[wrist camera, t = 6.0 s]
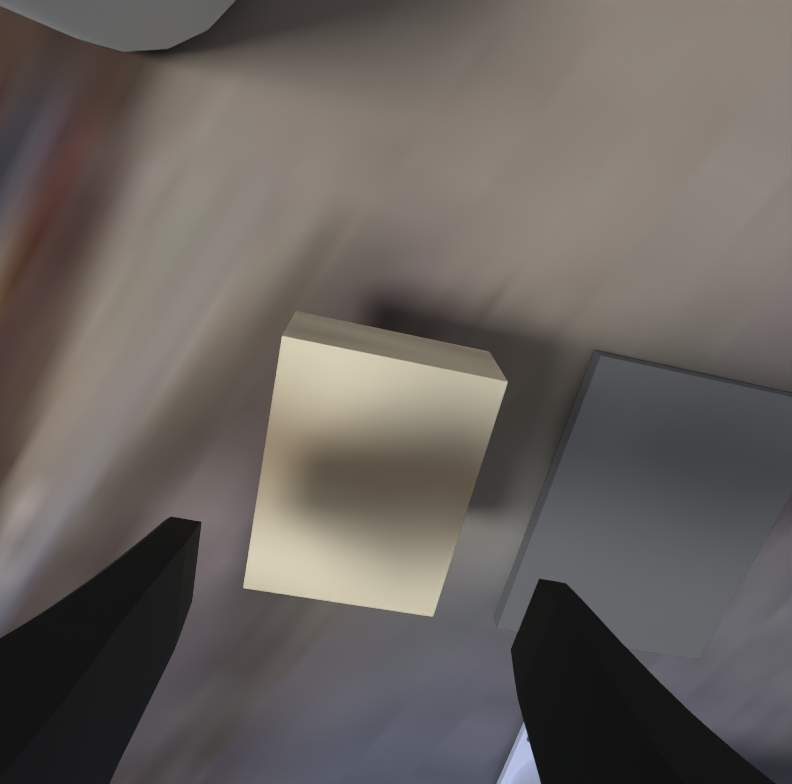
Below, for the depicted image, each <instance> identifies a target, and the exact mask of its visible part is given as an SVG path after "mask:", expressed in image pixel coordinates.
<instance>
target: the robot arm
mask: <svg viewBox="0 0 792 784" xmlns="http://www.w3.org/2000/svg"><path fill="white" fill-rule="evenodd" d="M200 530H201V522H199V521H193V520H187V519H181V518H176V517H170V518H168V519H166V520H165V521H163V522H162V523H161V524H160V525H159V526H158V527H156V528H155V529H154V530H153V531H152V532H150V533H149V534H148V535H147V536H146V537H144V538H143V539H142V540H141V541H139V542H138V543H137V544H136V545H135V546H133V547H132V548H131V549H130V550H128V551H127V552H126V553H125V554H123V555H122V556H121V557H119V558H118V559H117V560H115V561H114V562H113V563H112V564H110V565H109V566H108V567H106V568H105V569H104V570H102V571H101V572H100V573H98V574H97V575H96V576H94V577H93V578H92V579H90V580H89V581H88V582H86V583H85V584H83V585H82V586H81V587H79V588H78V589H76V590H75V591H73V592H72V593H70V594H69V595H67V596H66V597H64V598H63V599H62V600H60V601H59V602H57V603H56V604H54V605H53V606H51V607H50V608H48V609H47V610H45V611H44V612H42V613H41V614H39V615H38V616H36V617H34V618H33V619H31V620H30V621H28V622H27V623H25V624H23V625H22V626H20V627H18V628H17V629H15V630H13V631H12V632H10V633H8V634H7V635H5V636H3V637H1V638H0V784H109V783H110V781H111V779H112V777H113V775H114V772H115V770H116V768H117V766H118V763H119V761H120V759H121V757H122V755H123V753H124V751H125V749H126V747H127V745H128V743H129V741H130V739H131V737H132V735H133V733H134V731H135V729H136V727H137V725H138V723H139V721H140V719H141V717H142V715H143V713H144V711H145V709H146V707H147V705H148V703H149V701H150V699H151V697H152V694H153V692H154V690H155V688H156V686H157V684H158V682H159V680H160V678H161V676H162V674H163V672H164V670H165V668H166V666H167V664H168V662H169V660H170V658H171V656H172V654H173V651H174V649H175V647H176V644H177V641H178V639H179V636H180V633H181V631H182V628H183V625H184V622H185V619H186V617H187V614H188V611H189V608H190V605H191V603H192V598H193V589H194V581H195V572H196V564H197V555H198V547H199V538H200ZM511 654H512V662H513V670H514V677H515V683H516V690H517V696H518V701H519V705H520V709H521V712H522V716H523V720H524V723H523V725H522V727H521V729H520V731H519V734H518V736H517V738H516V741H515V743H514V745H513V747H512V750H511V752H510V754H509V756H508V759H507V761H506V763H505V766H504V768H503V770H502V772H501V775H500V777H499V779H498V781H497V784H775V783H774V782H773V781H771V780H770V779H769V778H768V777H766V776H765V775H764V774H762V773H761V772H760V771H758V770H757V769H756V768H755V767H754V766H752V765H751V764H750V763H749V762H747V761H746V760H745V759H744V758H742V757H741V756H740V755H739V754H738V753H736V752H735V751H734V750H733V749H732V748H731V747H730V746H728V745H727V744H726V743H725V742H724V741H723V740H721V739H720V738H719V737H718V736H717V735H716V734H715V733H713V732H712V731H711V730H710V729H709V728H708V727H706V726H705V725H704V724H703V723H702V722H701V721H700V720H699V719H698V718H696V717H695V716H694V715H693V714H692V713H691V712H690V711H689V710H688V709H687V708H686V707H685V706H684V705H683V704H682V703H681V702H679V701H678V700H677V699H676V698H675V697H674V696H673V695H672V694H671V693H670V692H669V691H668V690H667V689H666V688H665V687H664V686H663V685H662V684H661V683H660V682H659V681H658V680H657V679H656V678H655V677H654V676H653V675H652V674H651V673H650V672H649V671H648V670H647V669H646V668H645V667H644V666H643V665H642V664H641V663H640V662H639V660H638V659H637V658H636V657H635V656H634V655H633V654H632V653H631V652H630V651H629V650H628V649H627V648H626V647H625V646H624V645H623V643H622V642H621V641H620V640H619V639H618V638H617V637H616V636H615V635H614V634H613V633H612V632H611V630H610V629H609V628H608V627H607V626H606V625H605V624H604V623H603V622H602V621H601V620H600V618H599V617H598V616H597V615H596V614H595V613H594V612H593V611H592V610H591V609H590V608H589V606H588V605H587V604H586V603H585V602H584V601H583V600H582V599H581V598H580V597H579V596H578V595H577V594H576V593H575V592H574V591H573V590H572V589H571V588H570V587H569V586H568V585H567V584H566V583H562V582H557V581H551V580H545V579H539V580H538V583H537V585H536V588H535V590H534V593H533V595H532V598H531V600H530V603H529V605H528V608H527V610H526V613H525V615H524V618H523V620H522V623H521V625H520V628H519V630H518V633H517V635H516V638H515V640H514V643H513V645H512V648H511Z"/></svg>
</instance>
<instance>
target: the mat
mask: <svg viewBox="0 0 792 784" xmlns="http://www.w3.org/2000/svg"><path fill="white" fill-rule="evenodd" d="M791 494H792V393H789V392H784V391H780V390H775V389H771V388H766V387H761V386H757V385H752V384H748V383H743V382H738V381H734V380H729V379H725V378H720V377H715V376H711V375H706V374H702V373H697V372H692V371H688V370H683V369H679V368H674V367H669V366H665V365H660V364H656V363H651V362H646V361H642V360H637V359H632V358H628V357H623V356H619V355H614V354H609V353H605V352H600V351H596V350H594V352H593V355H592V357H591V360H590V363H589V365H588V368H587V371H586V373H585V376H584V379H583V381H582V384H581V387H580V389H579V392H578V395H577V397H576V400H575V403H574V405H573V408H572V411H571V413H570V416H569V419H568V421H567V424H566V427H565V429H564V432H563V435H562V437H561V440H560V443H559V445H558V448H557V451H556V453H555V456H554V459H553V461H552V464H551V467H550V469H549V472H548V475H547V477H546V480H545V483H544V485H543V488H542V491H541V493H540V496H539V499H538V501H537V504H536V507H535V509H534V512H533V515H532V517H531V520H530V523H529V525H528V528H527V531H526V533H525V536H524V539H523V541H522V544H521V547H520V549H519V552H518V555H517V557H516V560H515V563H514V565H513V568H512V571H511V573H510V576H509V579H508V581H507V584H506V587H505V589H504V592H503V595H502V597H501V600H500V603H499V605H498V608H497V610H496V613H495V616H494V619H495V623H496V627H497V628H498V629H505V630H511V631H518V630H519V628H520V625H521V623H522V620H523V618H524V615H525V613H526V610H527V608H528V605H529V603H530V600H531V598H532V595H533V593H534V590H535V588H536V585H537V583H538V580H539V579H545V580H551V581H557V582H562V583H566V584H567V585H568V586H569V587H570V588H571V589H572V590H573V591H574V592H575V593H576V594H577V595H578V596H579V597H580V598H581V599H582V600H583V601H584V602H585V603H586V604H587V605H588V606H589V608H590V609H591V610H592V611H593V612H594V613H595V614H596V615H597V616H598V617H599V618H600V620H601V621H602V622H603V623H604V624H605V625H606V626H607V627H608V628H609V629H610V630H611V632H612V633H613V634H614V635H615V636H616V637H617V638H618V639H619V640H620V641H621V642H622V643H623V645H624V646H625V647H626V648H629V649H635V650H642V651H648V652H655V653H661V654H668V655H674V656H681V657H687V658H694V659H698V658H699V656H700V654H701V652H702V651H703V649H704V647H705V645H706V644H707V642H708V640H709V638H710V637H711V635H712V633H713V631H714V630H715V628H716V626H717V624H718V622H719V621H720V619H721V617H722V615H723V614H724V612H725V610H726V608H727V607H728V605H729V603H730V601H731V600H732V598H733V596H734V594H735V593H736V591H737V589H738V587H739V586H740V584H741V582H742V580H743V579H744V577H745V575H746V573H747V571H748V570H749V568H750V566H751V564H752V563H753V561H754V559H755V557H756V556H757V554H758V552H759V550H760V549H761V547H762V545H763V543H764V542H765V540H766V538H767V536H768V535H769V533H770V531H771V529H772V528H773V526H774V524H775V522H776V520H777V519H778V517H779V515H780V513H781V512H782V510H783V508H784V506H785V505H786V503H787V501H788V499H789V498H790V496H791Z"/></svg>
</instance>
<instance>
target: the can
mask: <svg viewBox="0 0 792 784" xmlns="http://www.w3.org/2000/svg"><path fill="white" fill-rule="evenodd" d="M235 1H236V0H0V6H2V7H4V8H7V9H9V10H11V11H14V12H16V13H18V14H21V15H23V16H25V17H28V18H30V19H32V20H35V21H37V22H39V23H42V24H44V25H46V26H49V27H51V28H53V29H56V30H58V31H60V32H63V33H65V34H68V35H70V36H72V37H75V38H77V39H80V40H84V41H87V42H91V43H94V44H98V45H101V46H105V47H108V48H112V49H115V50H119V51H122V52H129V51H144V50H159V49H169V48H171V47H173V46H175V45H177V44H180V43H182V42H184V41H186V40H188V39H190V38H192V37H194V36H196V35H198V34H201V33H203V32H205V31H207V30H208V29H209V28H210V27H211V26H212V25H213V24H214V23H215V22H216V21H217V20H218V19H219V18H220V17H221V16H222V15H223V14H224V12H225V11H226V10H227V9H228V8H229V7H230V6H231V5H232V4H233V3H234V2H235Z"/></svg>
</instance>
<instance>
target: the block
mask: <svg viewBox="0 0 792 784" xmlns="http://www.w3.org/2000/svg"><path fill="white" fill-rule="evenodd" d="M507 383H508V381H507V379H506V378H505V376H504V375H503V373H502V371H501V370H500V368H499V366H498V365H497V363H496V361H495V360H494V358H493V356H492V355H491V353H490V352H489V351H485V350H480V349H475V348H470V347H466V346H461V345H456V344H451V343H447V342H442V341H437V340H432V339H427V338H423V337H418V336H413V335H408V334H403V333H399V332H394V331H389V330H384V329H380V328H375V327H370V326H365V325H360V324H356V323H351V322H346V321H341V320H336V319H332V318H327V317H322V316H317V315H313V314H308V313H303V312H298V311H296V312H295V314H294V316H293V317H292V319H291V321H290V323H289V325H288V326H287V328H286V330H285V332H284V333H283V335H282V340H281V347H280V353H279V360H278V366H277V372H276V379H275V385H274V392H273V398H272V405H271V411H270V418H269V424H268V431H267V437H266V444H265V450H264V457H263V463H262V470H261V476H260V483H259V489H258V496H257V502H256V508H255V515H254V521H253V528H252V534H251V541H250V547H249V554H248V560H247V567H246V573H245V580H244V586H243V588H246V589H253V590H260V591H266V592H273V593H279V594H286V595H293V596H299V597H306V598H312V599H319V600H326V601H332V602H339V603H345V604H352V605H359V606H365V607H372V608H378V609H385V610H391V611H398V612H405V613H411V614H418V615H424V616H431V617H433V615H434V612H435V609H436V606H437V602H438V599H439V596H440V593H441V590H442V587H443V584H444V580H445V577H446V574H447V571H448V568H449V565H450V562H451V559H452V555H453V552H454V549H455V546H456V543H457V540H458V537H459V534H460V530H461V527H462V524H463V521H464V518H465V515H466V512H467V508H468V505H469V502H470V499H471V496H472V493H473V490H474V487H475V483H476V480H477V477H478V474H479V471H480V468H481V465H482V461H483V458H484V455H485V452H486V449H487V446H488V443H489V440H490V436H491V433H492V430H493V427H494V424H495V421H496V418H497V415H498V411H499V408H500V405H501V402H502V399H503V396H504V393H505V389H506V386H507Z"/></svg>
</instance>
